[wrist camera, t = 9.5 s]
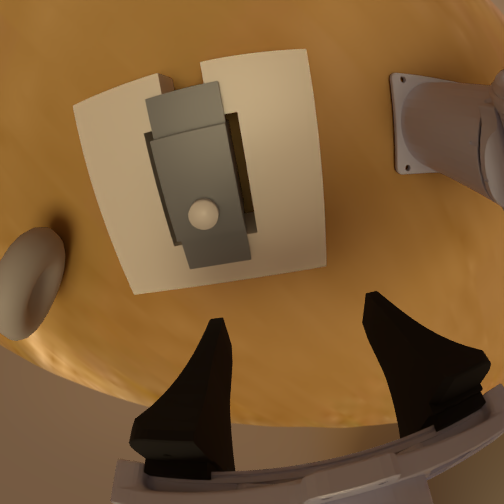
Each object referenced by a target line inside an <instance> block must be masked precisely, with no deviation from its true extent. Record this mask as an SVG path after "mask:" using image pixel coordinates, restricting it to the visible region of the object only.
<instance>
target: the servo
mask: <svg viewBox="0 0 504 504" xmlns="http://www.w3.org/2000/svg"><path fill="white" fill-rule="evenodd" d="M145 102H146V107H147V111H148V116H149V121H150V125H151V130H152V134H153V138H154V140H152V141H150V145H151V149H152V153H153V157H154V161H155V165H156V169H157V173H158V176H159V180H160V184H161V188H162V191H163V195H164V199H165V202H166V206H167V209H168V213H169V216H170V219H171V223H172V226H173V230H174V233H175V236H176V239H177V242H180V241H181V242H182V246H183V249H184V252H185V255H186V259H187V262H188V265H189V268H190V269H196V268H202V267H208V266H215V265H221V264H227V263H233V262H239V261H246V260H251V252H250V247H249V241H248V236H247V231H246V226H245V219H244V201H243V195H242V190H241V185H240V179H239V174H238V168H237V163H236V158H235V152H234V147H233V141H232V136H231V131H230V125H229V120H225V114H224V109H223V104H222V98H221V93H220V88H219V82H218V81H214V82H209V83H204V84H200V85H195V86H191V87H187V88H183V89H179V90H175V91H172V92H168V93H164V94H161V95H157V96H154V97H151V98H148V99H145Z"/></svg>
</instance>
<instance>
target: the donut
mask: <svg viewBox="0 0 504 504" xmlns="http://www.w3.org/2000/svg"><path fill="white" fill-rule="evenodd" d="M65 256H66V255H65V249H64V244H63V241H62V239H61V238H60V237H59V236H58V235H57V234H56V233H55V232H54V231H53V230H52V229H50V228H47V227H41V228H32V229H30V230H29V231H27V232H25V233H23V234H22V235H20V236H19V237H18V238H17V239H16V240H15V241H14V242H13V243H12V244H11V245H10V247H9V248H8V250H7V251H6V253H5V254H4V256H3V258H2V259H1V261H0V333H1V334H2V335H4V336H5V337H7V338H9V339H11V340H16V341H18V340H22V339H25V338H28V337H29V336H30V335H31V334H32V333H34V332H35V331H36V330H37V328H38V327H39V326H40V324H41V323H42V322H43V320H44V318H45V317H46V315H47V314H48V312H49V310H50V308H51V306H52V304H53V302H54V299H55V297H56V294H57V292H58V289H59V286H60V283H61V280H62V276H63V272H64V266H65Z"/></svg>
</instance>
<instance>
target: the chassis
mask: <svg viewBox="0 0 504 504" xmlns="http://www.w3.org/2000/svg"><path fill="white" fill-rule="evenodd" d="M200 65H201V71H202V76H203V82H204V83H209V82H214V81H218V82H219V88H220V93H221V98H222V104H223V109H224V114H228V113H234V112H237V113H238V119H239V125H240V130H241V136H242V142H243V148H244V154H245V160H246V165H247V171H248V177H249V183H250V189H251V195H252V201H253V207H254V212H249V213H244V219H245V226H246V231H247V236H248V241H249V247H250V252H251V260H246V261H239V262H233V263H227V264H221V265H215V266H208V267H202V268H196V269H190V268H189V265H188V262H187V259H186V255H185V252H184V249H183V246H182V242H181V241H180V242H177V239H176V236H175V233H174V230H173V226H172V223H171V219H170V216H169V213H168V209H167V206H166V202H165V199H164V195H163V191H162V188H161V184H160V180H159V176H158V173H157V169H156V165H155V161H154V157H153V153H152V149H151V145H150V141H152V140H154V138H153V134H152V130H151V125H150V121H149V116H148V111H147V107H146V102H145V99H148V98H151V97H154V96H157V95H161V94H164V93H168V92H172V91H174V86H173V80H172V78H169V77H167V76H164V75H162V74H159V73H156V74H153V75H150V76H147V77H143V78H140V79H137V80H134V81H132V82H129V83H126V84H123V85H120V86H118V87H115V88H113V89H110V90H108V91H105V92H103V93H100V94H98V95H95V96H93V97H91V98H89V99H86V100H84V101H82V102H80V103H78V104H76V105H73V109H74V114H75V119H76V124H77V129H78V133H79V137H80V142H81V146H82V150H83V154H84V157H85V161H86V165H87V168H88V172H89V175H90V179H91V182H92V186H93V189H94V192H95V195H96V198H97V201H98V204H99V207H100V210H101V213H102V216H103V219H104V222H105V225H106V227H107V230H108V233H109V235H110V238H111V241H112V243H113V246H114V248H115V251H116V253H117V256H118V258H119V261H120V263H121V266H122V268H123V270H124V273H125V275H126V277H127V280H128V282H129V284H130V286H131V289H132V291H133V293H134V295H135V294H143V293H151V292H158V291H166V290H174V289H181V288H188V287H196V286H203V285H210V284H217V283H224V282H231V281H237V280H244V279H250V278H257V277H263V276H270V275H276V274H282V273H289V272H295V271H301V270H307V269H313V268H319V267H324V266H326V230H325V209H324V193H323V179H322V166H321V155H320V145H319V135H318V126H317V118H316V110H315V102H314V95H313V88H312V81H311V75H310V69H309V63H308V57H307V51H306V49H293V50H278V51H267V52H258V53H250V54H243V55H236V56H230V57H224V58H218V59H213V60H208V61H203V62H200Z"/></svg>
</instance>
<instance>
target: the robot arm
mask: <svg viewBox="0 0 504 504" xmlns="http://www.w3.org/2000/svg"><path fill="white" fill-rule="evenodd" d="M401 77H402V78H403V82H401V80H400V78H401ZM390 84H391V93H392V103H393V116H394V132H395V168H396V171H397V172H398V173H399V174H416V173H435V172H439V173H441V174H444V175H446V176H448V177H450V178H452V179H454V180H456V181H457V182H459V183H461V184H463V185H465V186H467V187H469V188H471V189H472V190H474V191H476V192H478V193H480V194H481V195H483V196H485V197H487V198H488V199H490V200H492V201H493V202H495V203H497V204H498V205H500V206H501V207H502V208H503V210H504V69H503V70H502V71H500V72H499V73H498V74H497V75H496V77H495V79H494V81H493V82H492V84H491V86H490V85H480V84H468V83H458V82H453V81H448V80H443V79H438V78H432V77H426V76H419V75H412V74H403V73H392V74H391V75H390ZM406 165H408V169H407V170H405V167H406ZM362 323H363V326H364V329H365V332H366V335H367V338H368V340H369V342H370V345H371V347H372V349H373V351H374V353H375V355H376V357H377V359H378V361H379V363H380V366H381V368H382V370H383V372H384V375H385V377H386V380H387V383H388V386H389V389H390V393H391V396H392V400H393V404H394V408H395V412H396V417H397V422H398V427H399V433H400V439H398V440H395V441H392V442H389V443H386V444H384V445H380V446H377V447H374V448H371V449H367V450H364V451H360V452H357V453H353V454H349V455H345V456H341V457H337V458H333V459H328V460H323V461H318V462H313V463H308V464H302V465H296V466H289V467H281V468H273V469H263V470H250V471H235V465H234V457H233V447H232V436H231V420H230V392H231V378H232V345H231V342H230V339H229V335H228V332H227V329H226V326H225V322H224V319H223V318H215V319H211V320H210V321H209V323H208V325H207V328H206V330H205V332H204V334H203V336H202V338H201V340H200V342H199V344H198V346H197V348H196V350H195V352H194V354H193V355H192V357H191V358H190V360H189V362H188V363H187V365H186V367H185V368H184V370H183V371H182V372H181V374H180V375H179V376H178V378H177V379H176V380H175V382H174V383H173V384H172V385H171V386H170V388H169V389H168V390H167V391H166V392H165V393H164V394H163V395H162V396H161V397H160V398H159V399H158V400H157V401H156V402H155V403H154V404H153V405H152V406H151V407H150V408H148V409H147V410H146V411H145V412H143V413H142V414H141V415H140V416H138V417H137V418H135V421H134V424H133V427H132V431H131V436H130V441H129V444H130V446H131V447H132V448H133V449H134V450H135V451H136V452H138V453H139V454H140V455H142V456H143V457H144V458H146V460H145V464H144V463H141V462H136V461H130V460H123V459H118V460H117V465H116V470H115V476H114V482H113V488H112V494H111V502H112V503H114V504H433V501H432V497H431V494H430V490H429V487H428V484H427V480H429V479H431V478H433V477H435V476H436V475H439V474H440V473H442V472H444V471H446V470H448V469H450V468H451V467H453V466H455V465H457V464H458V463H460V462H462V461H463V460H465V459H467V458H468V457H470V456H472V455H473V454H475V453H476V452H478V451H479V450H481V449H482V448H484V447H485V446H487V445H488V444H490V443H491V442H492V441H494V440H496V439H497V438H498V437H499V436H500V435H501V434H503V433H504V387H503V386H502V384H499V385H497V386H496V387H494V388H492V389H491V390H489V391H488V392H486V393H485V394H484V395H482V393H481V392H480V391H482V386H481V384H480V383H481V382H482V380H483V379H484V377H485V376H486V374H487V373H488V371H489V369H490V366H491V363H490V361H489V359H488V358H487V356H486V355H485V353H484V352H483V351H482V350H479V349H475V348H471V347H468V346H465V345H462V344H459V343H456V342H454V341H451V340H449V339H447V338H445V337H442V336H440V335H438V334H436V333H434V332H433V331H431V330H429V329H427V328H426V327H424V326H422V325H421V324H419V323H418V322H416V321H415V320H413V319H412V318H411V317H409V316H408V315H406V314H405V313H404V312H402V311H401V310H400V309H399V308H397V307H396V306H395V305H394V304H392V303H391V302H390V301H389V300H387V299H386V298H385V297H384V296H382V295H381V294H380V293H379V292H377V291H374V292H370V293H366V297H365V306H364V314H363V321H362ZM273 484H274V485H273Z"/></svg>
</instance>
